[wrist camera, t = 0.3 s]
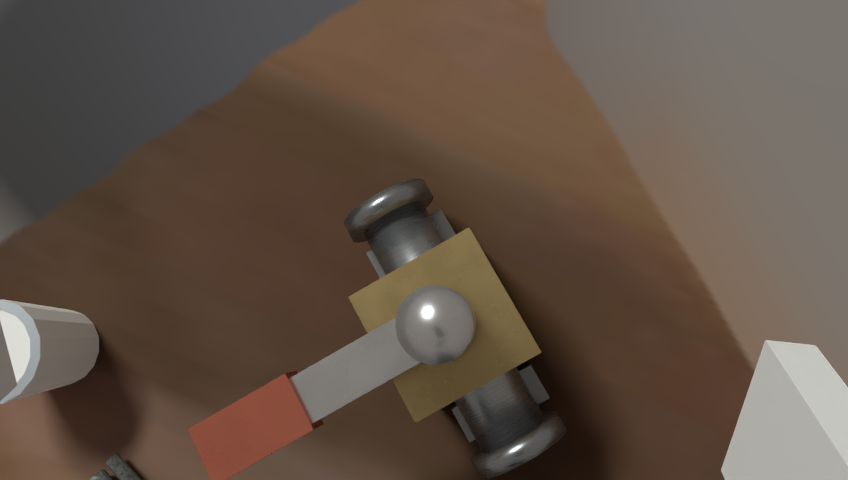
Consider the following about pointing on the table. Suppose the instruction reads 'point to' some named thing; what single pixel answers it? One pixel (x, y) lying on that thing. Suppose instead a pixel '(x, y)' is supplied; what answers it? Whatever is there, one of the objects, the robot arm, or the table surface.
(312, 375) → the lever
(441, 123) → the table surface
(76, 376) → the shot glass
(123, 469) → the valve
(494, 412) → the pipe valve
